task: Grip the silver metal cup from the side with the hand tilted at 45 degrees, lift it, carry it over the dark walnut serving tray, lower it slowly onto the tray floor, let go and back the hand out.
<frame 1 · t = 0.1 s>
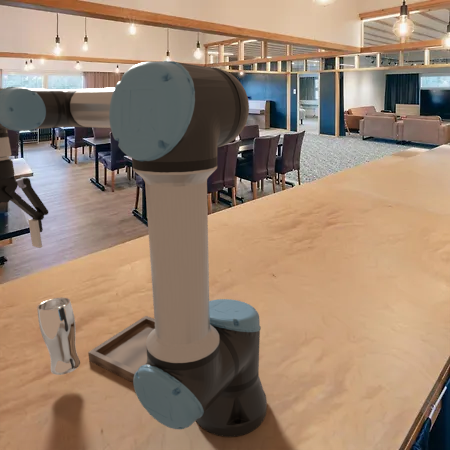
hand: (8, 255, 87), 28 cm above the worktop, tool pointing down, fingers open, 13 cm apart
silver metal cup: (65, 367, 86), point 4 cm above the worktop
walnut tray: (148, 352, 99), on the worktop
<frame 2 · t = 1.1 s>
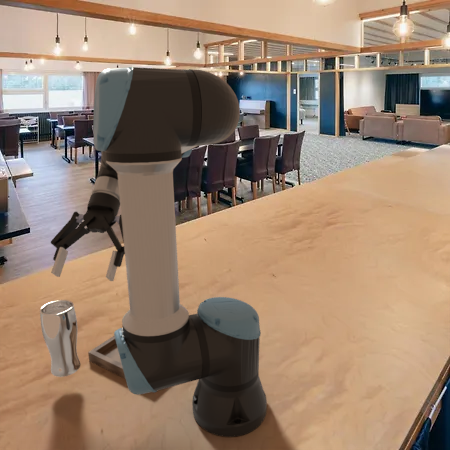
hand: (82, 277, 91), 21 cm above the worktop, tool tilted 45°, fingers open, 13 cm apart
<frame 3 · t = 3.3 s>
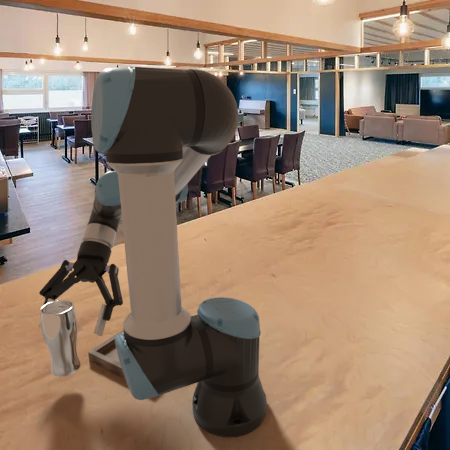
hand: (70, 331, 88), 11 cm above the worktop, tool tilted 45°, fingers open, 13 cm apart
nothing on the worktop moved.
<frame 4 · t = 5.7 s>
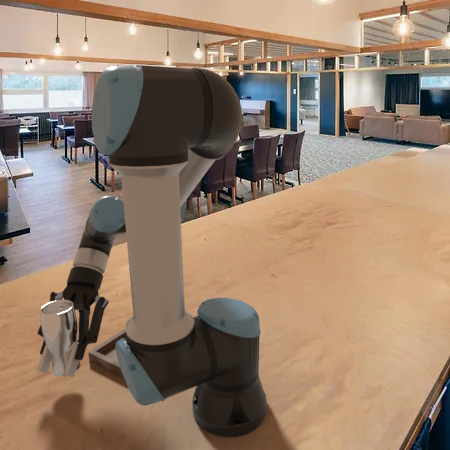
hand: (55, 373, 83), 6 cm above the worktop, tool tilted 45°, fingers closed on silver metal cup, 6 cm apart
silver metal cup: (66, 368, 86), point 4 cm above the worktop, touching gripper
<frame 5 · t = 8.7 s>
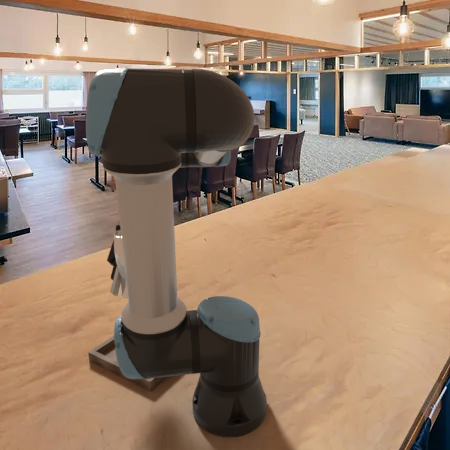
hand: (126, 295, 89), 18 cm above the worktop, tool tilted 45°, fingers closed on silver metal cup, 6 cm apart
silver metal cup: (133, 293, 93), point 17 cm above the worktop, touching gripper
when the fingers open (8 cm above the worktop, at t = 11.6 s): silver metal cup drops 1 cm, point 4 cm above the worktop.
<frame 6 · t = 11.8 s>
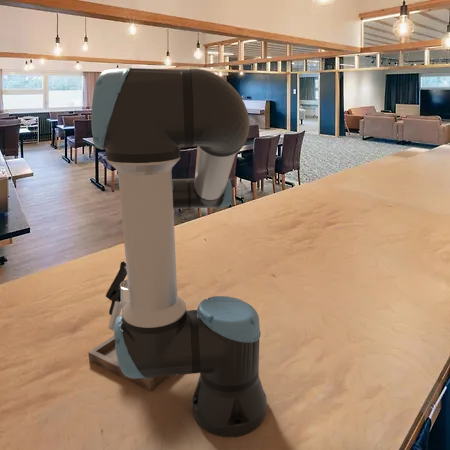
hand: (131, 331, 93), 8 cm above the worktop, tool tilted 45°, fingers open, 9 cm apart
silver metal cup: (138, 339, 97), point 4 cm above the worktop
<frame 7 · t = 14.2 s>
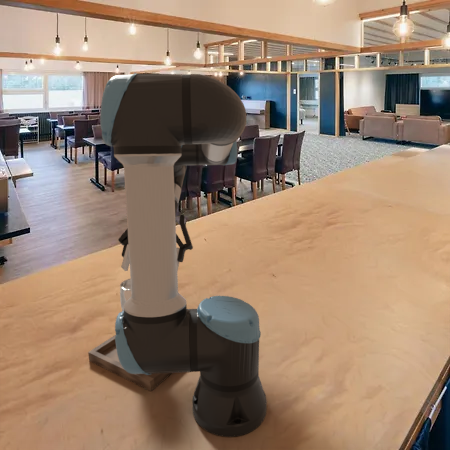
hand: (148, 271, 102), 18 cm above the worktop, tool tilted 45°, fingers open, 13 cm apart
nothing on the worktop moved.
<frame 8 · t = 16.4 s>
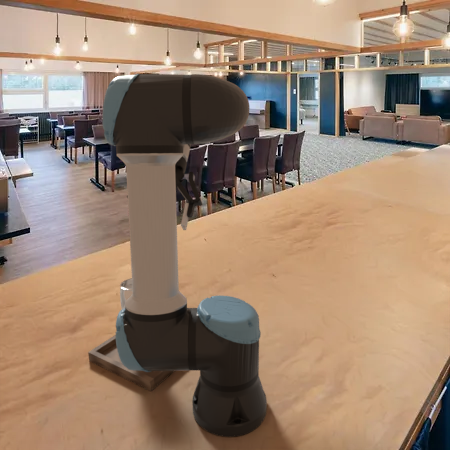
hand: (157, 226, 101), 30 cm above the worktop, tool tilted 45°, fingers open, 13 cm apart
nothing on the worktop moved.
at the end: silver metal cup inside the target area on the walnut tray (2.1 cm from its centre), point 4.1 cm above the walnut tray's base; silver metal cup tilted 0°; the gripper is holding nothing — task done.
